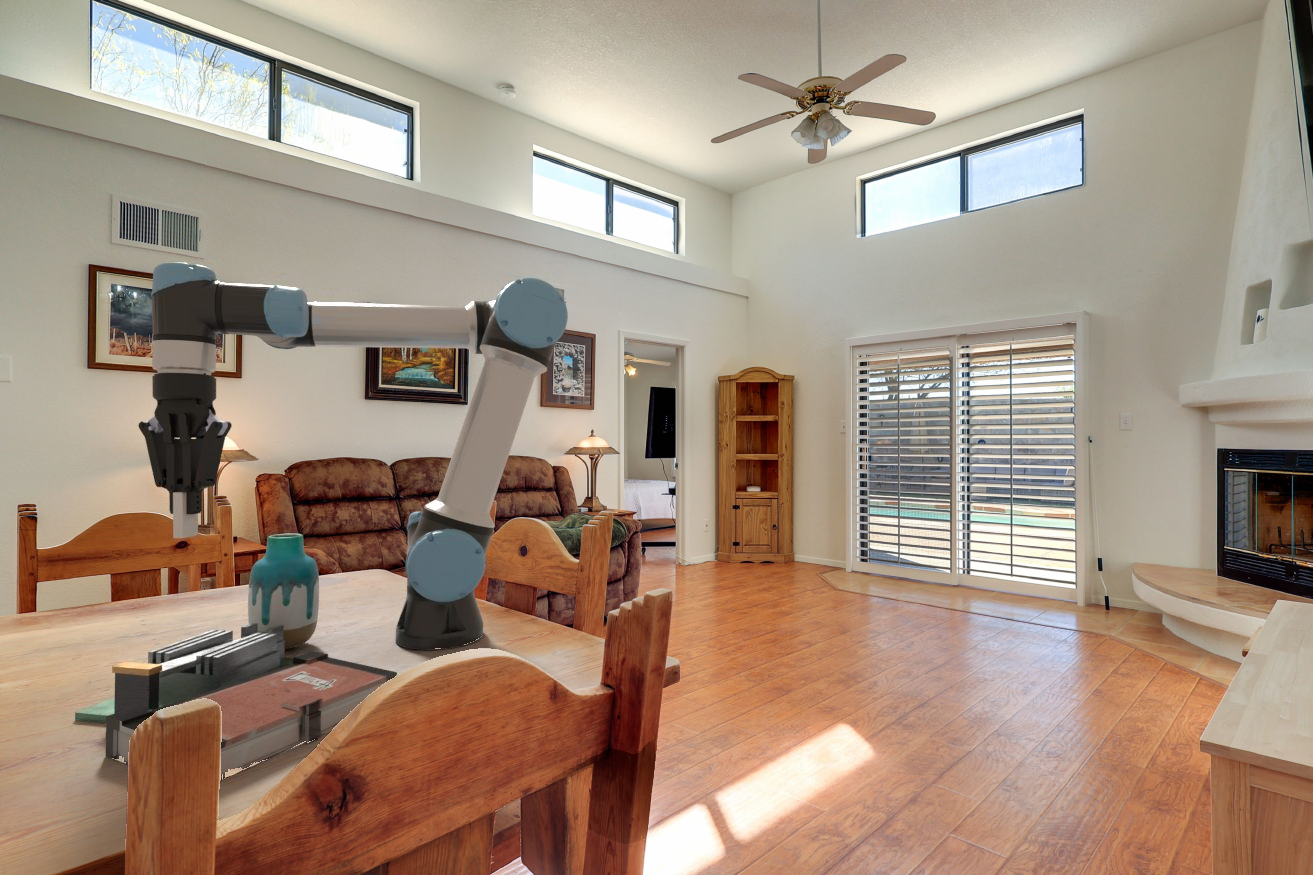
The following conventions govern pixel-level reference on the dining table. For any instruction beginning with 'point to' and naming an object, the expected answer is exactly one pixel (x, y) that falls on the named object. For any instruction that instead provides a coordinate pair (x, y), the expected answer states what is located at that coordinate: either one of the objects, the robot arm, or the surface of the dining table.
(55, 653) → the dining table surface
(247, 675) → the heatsink
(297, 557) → the vase
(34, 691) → the dining table surface
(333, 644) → the dining table surface
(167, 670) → the strap
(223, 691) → the brown labeled slab
